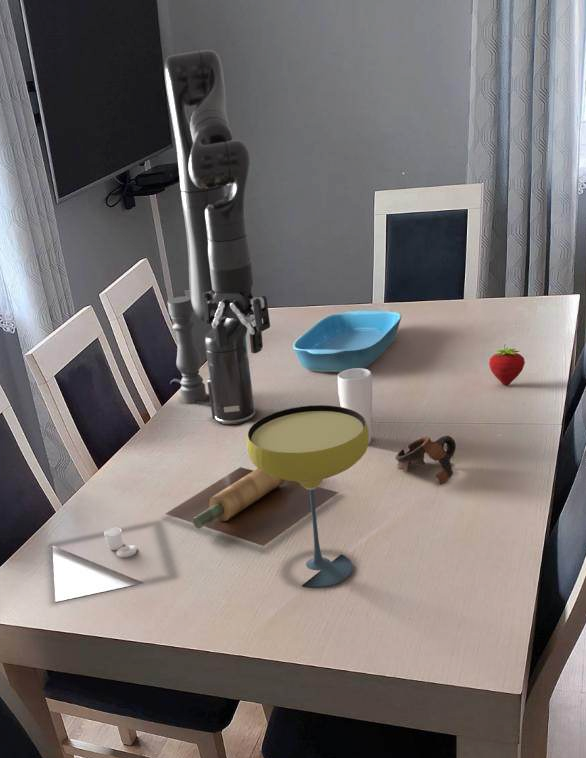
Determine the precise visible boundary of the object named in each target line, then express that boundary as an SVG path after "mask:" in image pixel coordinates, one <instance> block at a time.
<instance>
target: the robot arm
mask: <svg viewBox="0 0 586 758" xmlns="http://www.w3.org/2000/svg"><path fill="white" fill-rule="evenodd" d="M223 68H224V67H223V65H222V61H221V58H220V56H219V54H218V53H217V52H216V51H215V50H213V49H201V50H196V51H190V52H183V53H177V54H171V55H168V56H167V57H166V59H165V61H164V69H163V70H164V81H165V89H166V95H167V101H168V108H169V112H170V118H171V125H172V129H173V135H174V141H175V142H174V143H175V148H176V158H177V168H178V177H179V189H180V197H181V206H182V211H183V219H184V224H185V225H184V226H185V234H186V243H187V245H186V246H187V257H188V286H189V297H190V298H191V303H192V308H193V312H194V314H195V316H196V317H197V318H198V319H199V320H200V321H203V322H204V323H205V324H206V325H211V327H212V328H211V329H210V331H208V333H206V335H205V336H204V346H205V354H206V359H207V360H206V361H207V368H208V373H209V378H208V379H207V381H206V383H207V388H208V397H209V402H207V401H204V400H203V401H200V400H196V401H195V402H196V403H195V404H198V405H203V406H208V407H210V411H211V416H212V417H211V418H212V419H213V420H215V421H216V422H217V423H218V424H221V425H237V424H242V423H246V422H249V421H250V420H252V419H254V418H255V417H256V409H255V403H254V394H253V386H252V377H251V376H252V375H251V369H250V361H249V352H248V344H247V333H248V332H249V333H250V334H249V343H250V344H249V345H250V352H251V354H258V353H260V352H261V351H262V350H263V347H264V344H263V343H264V342H263V335H262V334H263V332H264V331H266V330H268V329H270V328H271V323H270V314H269V308H268V299H267V296H265V295H262V296H259V297H255V296H253V293H252V288H253V285H254V279H253V266H252V258H251V248H250V242H249V239H248V231H247V230H248V229H247V219H246V194H247V188H248V182H249V176H250V171H251V162H252V161H251V160H252V158H251V151H250V150H249V147H248V146H247V145H246V144H245V142H243V140H240V139H234V136H233V135H234V134H233V131H232V128H231V125H230V122H229V117H228V111H227V110H228V109H227V92H226V82H225V74H224V69H223ZM191 107H195V108H194V109H193V112H192V115H191V117H190V120H189V117H188V113H187V108H191ZM229 186H230V187H231V188H230V190H229V192H228V194H227V188H226V187H229ZM248 315H249V316H248ZM181 380H182V379H179V378H173V379H172V380H170V383H169V384H170V385H175V383H177V384H180V382H181Z"/></svg>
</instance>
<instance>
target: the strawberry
mask: <svg viewBox="0 0 586 758" xmlns="http://www.w3.org/2000/svg"><path fill="white" fill-rule="evenodd" d="M503 348H504V349H495V350H494V352H498V353H495V354H493V355H492V356H491V357H490V358H489V362H488V365H489V368H490V371H491V372H492V375H493V376H494V377H495V378H496V379H497V380H498V381H499V382H500V383H501V384H502V385H503V386H505V387H508V386H509V385H511V383H512V382H514V381H515V379H517V378H518V377H519V375H520V374H521V373H522V371H523V369H524V367H525V364H526V361H525V357H524V356H523V355H522V354H520V353H519V352H520V350H516V348H510V349H509V347H506V345H504V347H503Z"/></svg>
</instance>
